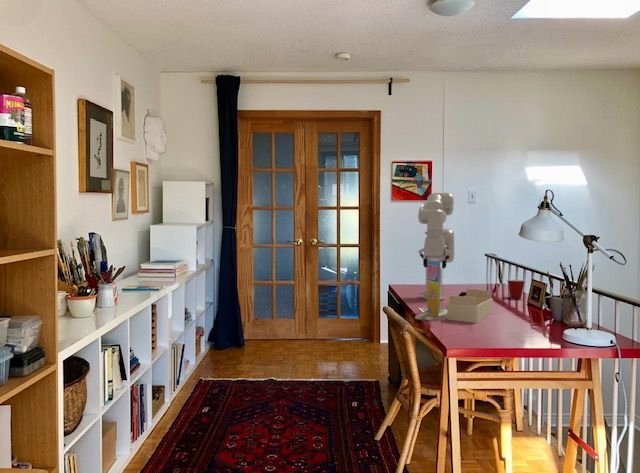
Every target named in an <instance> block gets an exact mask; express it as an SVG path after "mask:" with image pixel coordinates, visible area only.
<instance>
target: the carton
mask: <svg viewBox="0 0 640 473" xmlns="http://www.w3.org/2000/svg"><path fill="white" fill-rule="evenodd" d="M465 290H466V291H465V292H466V296H464V297H462V296H459V295H449V296H448V300H449V301H448V303H447V304H446V305H447V307H446V308H447V309H446V310H447V316H446V317H447V318H446V319H447V320H448V321H455V322H466V323H474V324H477V323H480V322H481V321H483V320H484V319H486V318H488V317H489V316H491V315H492V314H493V312H494V310H493V308H494V307H493V306H494V299H493V298H492V290H489V289H476V288H466V289H465Z"/></svg>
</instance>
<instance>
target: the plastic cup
mask: <svg viewBox="0 0 640 473" xmlns="http://www.w3.org/2000/svg"><path fill="white" fill-rule="evenodd" d="M506 281H507V284H508V289H509V296H510V299H512V298H513V300H520V299H519V298H521V299H522V297H523V296H522V295H523V290H524V286H525V282H526V280H524V279H507V280H506Z"/></svg>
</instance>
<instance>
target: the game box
mask: <svg viewBox="0 0 640 473" xmlns="http://www.w3.org/2000/svg"><path fill="white" fill-rule="evenodd" d="M440 267H441V262H440V259H430V260H429V261H428V293H427V299H426V303H427V304H426V309H427V310H426V311H427V316H438V315H439V311H440V309H441V300H440Z"/></svg>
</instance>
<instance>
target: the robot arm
mask: <svg viewBox="0 0 640 473" xmlns="http://www.w3.org/2000/svg"><path fill="white" fill-rule="evenodd" d="M454 203H455V202H454V197H453V195H452V193H450V192H432V193H430V194H429V195H428V196H427V200H426V201H424V202H423V203H422V205H421V206H420V207H418V208H419V209H418V215H417V219H418V221H419V223H420V224H423V225H426V231H424V234H425V235H426V236H425V239H424V245H423V248H421V249H420V250H418V253H419V257H420V258H421V259H422V261H423V262H422V263H423V264H422V265H423V268H425V290H419V293H418V294H419V295H422V299H424V300H427V293H428V261H429V260H430V259H440V263H441V266H440V301H442V300H444V299H445V296H443V295H442V290H443V289H442V286H443V285H442V283H443V282H442V277H443V274H442V273H443V272H442V271H443V270H442V269H446V267H447V264H448V263H452V262H454V259H455V232H454V230H452V229H451V228H444V226H443V224H444V223H446V221H447V216H451V215H452V214H453V211H454Z"/></svg>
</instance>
